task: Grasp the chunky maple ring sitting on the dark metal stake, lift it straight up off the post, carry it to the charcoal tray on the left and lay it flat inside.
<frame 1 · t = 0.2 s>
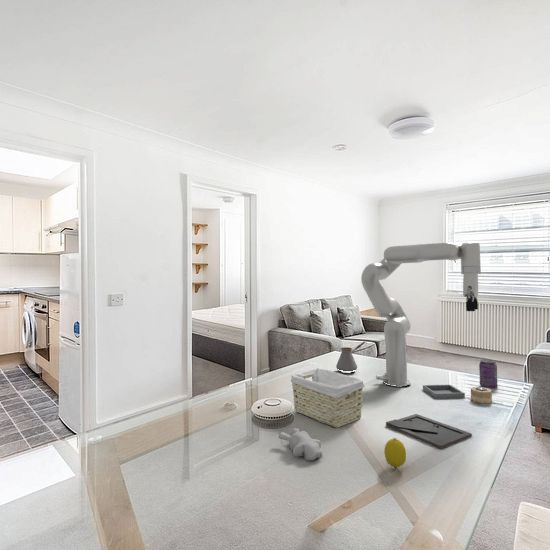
hand: (472, 310, 160), 37 cm above the table, tool pointing down, fingers open, 9 cm apart
beverage can: (488, 387, 171), on the table
storage basket: (327, 416, 139), on the table
picture frame: (427, 433, 123), on the table
coffee pot: (353, 370, 206), on the table
stake: (481, 401, 151), on the table
bunny figurine: (301, 452, 110), on the table
maple ring: (481, 400, 151), resting on stake
lemon: (395, 469, 99), on the table
charcoal tray: (443, 394, 161), on the table
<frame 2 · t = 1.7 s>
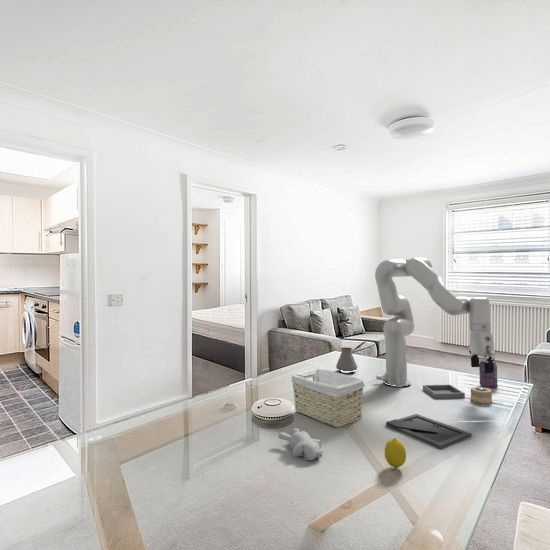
hand: (482, 369, 151), 13 cm above the table, tool pointing down, fingers open, 9 cm apart
nothing on the table moved.
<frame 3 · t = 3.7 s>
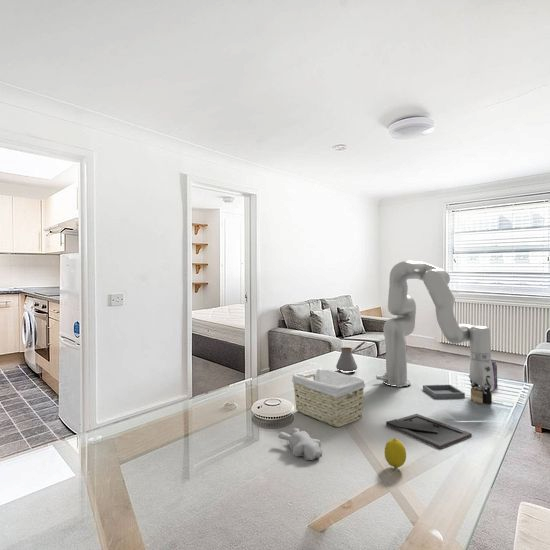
hand: (481, 399, 151), 1 cm above the table, tool pointing down, fingers closed on maple ring, 7 cm apart
maple ring: (481, 400, 151), resting on stake, touching gripper
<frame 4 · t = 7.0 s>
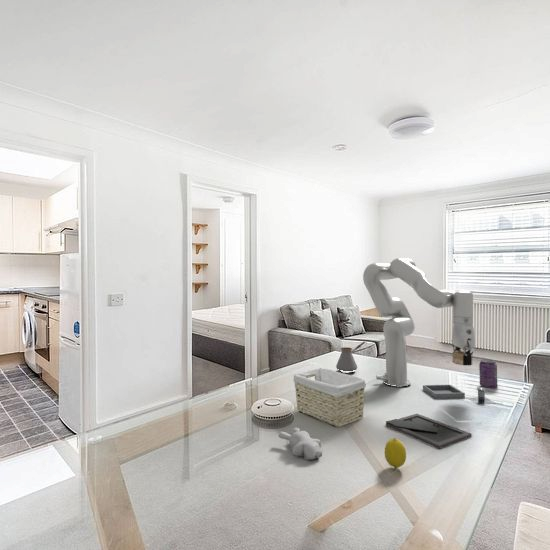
hand: (462, 362, 156), 15 cm above the table, tool pointing down, fingers closed on maple ring, 7 cm apart
maple ring: (462, 363, 155), point 15 cm above the table, touching gripper
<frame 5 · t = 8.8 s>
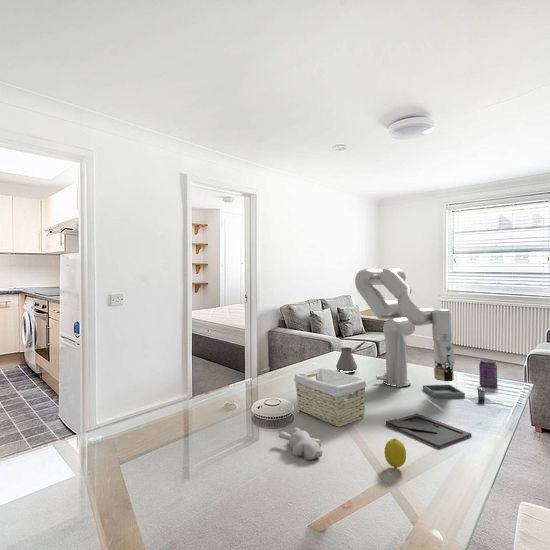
hand: (444, 378, 160), 7 cm above the table, tool pointing down, fingers closed on maple ring, 7 cm apart
maple ring: (444, 378, 160), point 7 cm above the table, touching gripper
when the fingers open (3 cm above the table, at t = 10.4 s): maple ring drops 2 cm, resting on charcoal tray.
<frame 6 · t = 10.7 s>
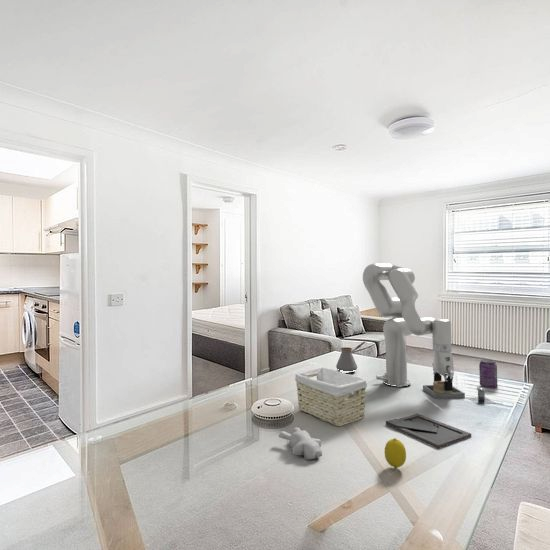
hand: (442, 387, 161), 3 cm above the table, tool pointing down, fingers open, 9 cm apart
maple ring: (442, 393, 161), point 1 cm above the table, touching charcoal tray
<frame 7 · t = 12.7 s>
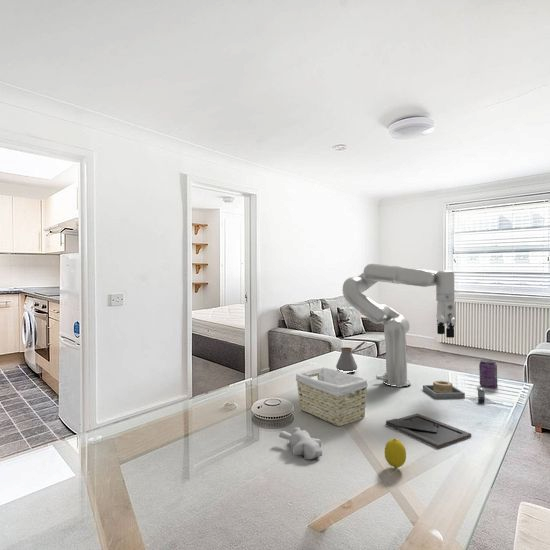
hand: (445, 335, 167), 25 cm above the table, tool pointing down, fingers open, 9 cm apart
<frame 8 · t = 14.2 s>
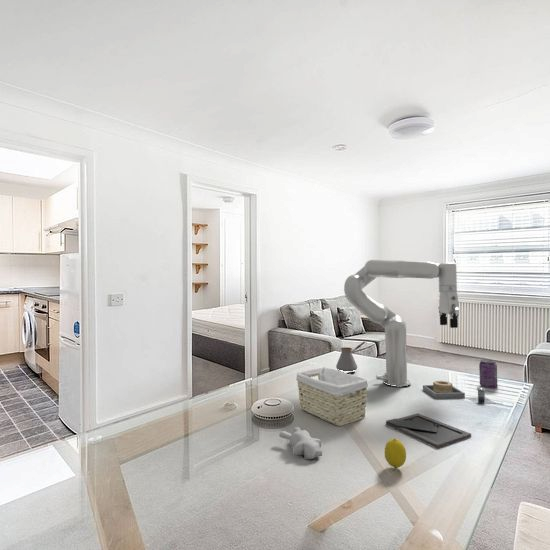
hand: (448, 326, 171), 28 cm above the table, tool pointing down, fingers open, 9 cm apart
at the end: maple ring inside the target area on the charcoal tray (0.1 cm from its centre), point 0.6 cm above the charcoal tray's base; maple ring tilted 0°; the gripper is holding nothing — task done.
